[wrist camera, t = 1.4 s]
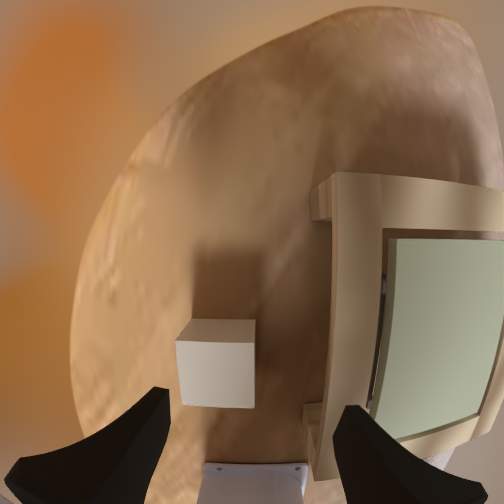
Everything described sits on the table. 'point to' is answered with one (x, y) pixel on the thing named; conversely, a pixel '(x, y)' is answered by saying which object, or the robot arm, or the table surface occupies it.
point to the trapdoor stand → (368, 296)
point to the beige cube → (217, 363)
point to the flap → (436, 332)
